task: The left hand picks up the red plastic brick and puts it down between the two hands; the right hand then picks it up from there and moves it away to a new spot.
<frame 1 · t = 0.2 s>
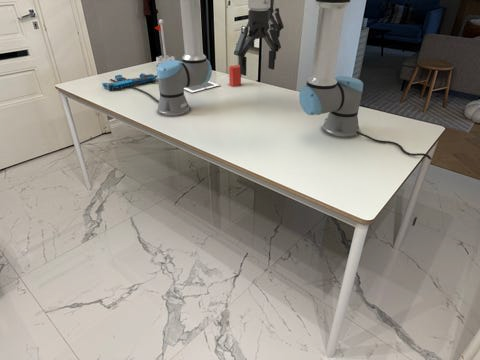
left hand: (257, 71, 128), 28 cm above the table, tool pointing down, fingers open, 13 cm apart
right hand: (264, 45, 167), 28 cm above the table, tool pointing down, fingers open, 13 cm apart
brick: (235, 84, 205), on the table
flag stand: (166, 65, 242), on the table
tablet: (191, 83, 208), on the table
submachine gun: (131, 82, 210), on the table
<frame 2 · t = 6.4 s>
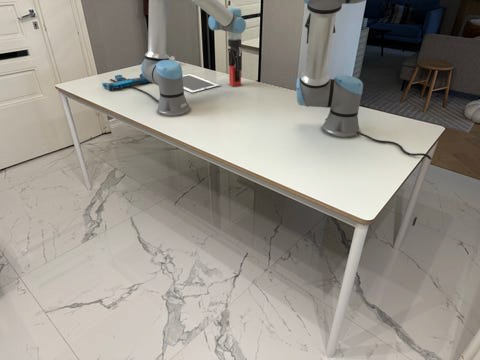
left hand: (235, 80, 203), 3 cm above the table, tool pointing down, fingers closed on brick, 5 cm apart
right hand: (317, 45, 167), 28 cm above the table, tool pointing down, fingers open, 13 cm apart
brick: (235, 84, 205), on the table, touching left hand
everything else where it was.
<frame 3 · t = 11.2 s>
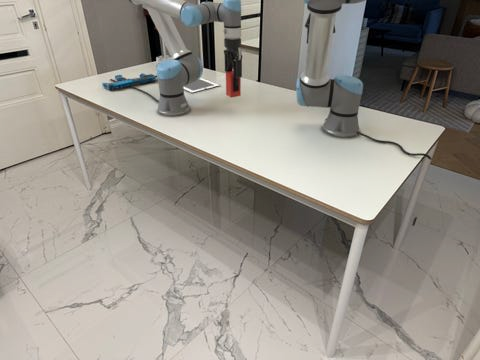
left hand: (233, 89, 162), 11 cm above the table, tool pointing down, fingers closed on brick, 5 cm apart
right hand: (317, 45, 167), 28 cm above the table, tool pointing down, fingers open, 13 cm apart
brick: (233, 95, 164), point 9 cm above the table, touching left hand
everything else where it was.
when the left hand's fingers open (5 cm above the table, at t = 16.2 s): brick drops 2 cm, on the table.
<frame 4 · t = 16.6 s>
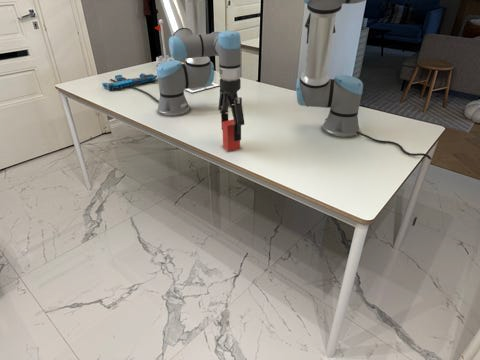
left hand: (231, 134, 133), 6 cm above the table, tool pointing down, fingers open, 10 cm apart
right hand: (317, 45, 167), 28 cm above the table, tool pointing down, fingers open, 13 cm apart
brick: (231, 147, 137), on the table
everything else where it was.
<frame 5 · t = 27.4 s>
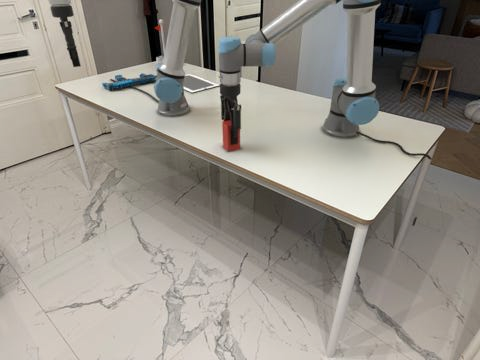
left hand: (75, 62, 140), 28 cm above the table, tool pointing down, fingers open, 13 cm apart
right hand: (231, 141, 135), 3 cm above the table, tool pointing down, fingers closed on brick, 5 cm apart
brick: (231, 147, 137), on the table, touching right hand
everything else where it was.
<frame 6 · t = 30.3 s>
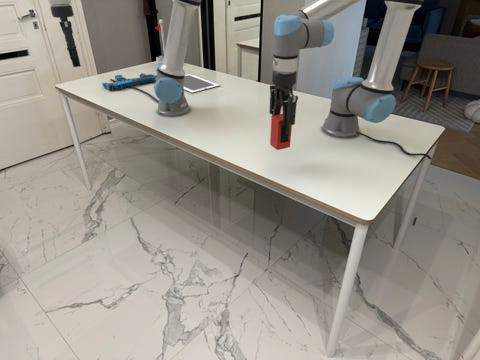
left hand: (75, 62, 140), 28 cm above the table, tool pointing down, fingers open, 13 cm apart
right hand: (280, 138, 118), 11 cm above the table, tool pointing down, fingers closed on brick, 5 cm apart
brick: (280, 145, 120), point 8 cm above the table, touching right hand
everything else where it was.
when the right hand's fingers open (5 cm above the table, at t = 33.2 s): brick drops 2 cm, on the table.
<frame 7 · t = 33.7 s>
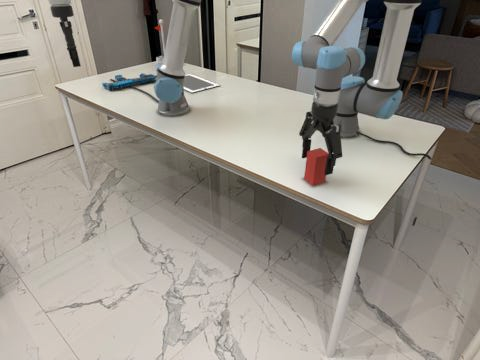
left hand: (75, 62, 140), 28 cm above the table, tool pointing down, fingers open, 13 cm apart
right hand: (316, 165, 113), 6 cm above the table, tool pointing down, fingers open, 11 cm apart
brick: (314, 180, 116), on the table
everything else where it was.
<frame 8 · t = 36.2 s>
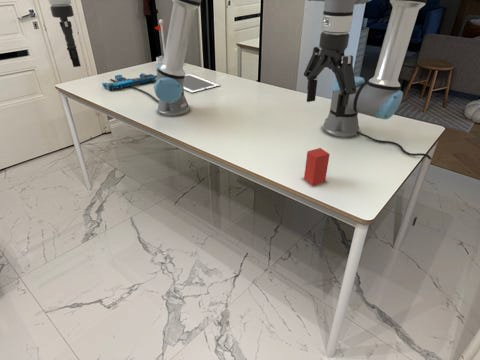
left hand: (75, 62, 140), 28 cm above the table, tool pointing down, fingers open, 13 cm apart
right hand: (324, 108, 102), 26 cm above the table, tool pointing down, fingers open, 13 cm apart
nothing on the table moved.
at the end: brick inside the target area (0.1 cm from its centre), on the table; brick tilted 0°; the two hands never held the brick at the same time; the left hand is holding nothing; the right hand is holding nothing; brick at rest at the end (0.0 cm/s) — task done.
